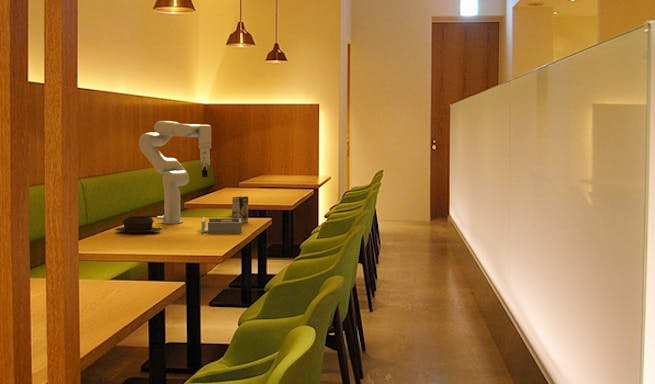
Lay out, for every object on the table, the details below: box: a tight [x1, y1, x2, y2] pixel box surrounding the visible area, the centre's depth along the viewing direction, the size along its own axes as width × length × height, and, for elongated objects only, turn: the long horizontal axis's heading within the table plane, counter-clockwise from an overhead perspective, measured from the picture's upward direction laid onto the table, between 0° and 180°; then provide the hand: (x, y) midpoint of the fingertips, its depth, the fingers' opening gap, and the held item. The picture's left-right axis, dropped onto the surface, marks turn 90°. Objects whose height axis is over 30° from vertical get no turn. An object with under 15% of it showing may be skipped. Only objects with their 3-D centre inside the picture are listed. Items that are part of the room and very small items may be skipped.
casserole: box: [114, 215, 162, 235], centre depth 405 cm, size 25×19×8 cm
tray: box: [201, 216, 208, 234], centre depth 416 cm, size 19×20×6 cm
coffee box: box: [231, 195, 249, 224], centre depth 453 cm, size 9×6×16 cm
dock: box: [207, 217, 243, 234], centre depth 417 cm, size 18×20×6 cm
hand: (204, 176), depth 434 cm, fingers closed
